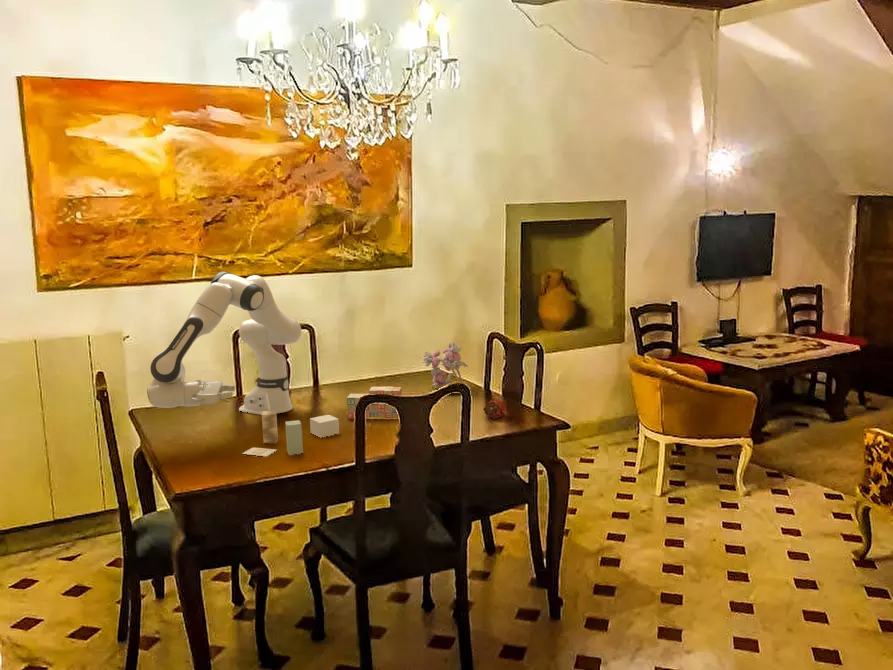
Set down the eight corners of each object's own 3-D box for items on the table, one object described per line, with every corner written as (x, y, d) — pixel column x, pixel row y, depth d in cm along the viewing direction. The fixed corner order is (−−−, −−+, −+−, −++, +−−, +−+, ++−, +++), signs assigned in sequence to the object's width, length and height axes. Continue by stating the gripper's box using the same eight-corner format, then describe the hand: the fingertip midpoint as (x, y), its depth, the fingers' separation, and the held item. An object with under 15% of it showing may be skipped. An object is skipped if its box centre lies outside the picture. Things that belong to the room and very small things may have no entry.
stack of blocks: (347, 420, 344) (346, 390, 342) (351, 415, 350) (349, 386, 348) (400, 420, 342) (399, 390, 340) (402, 415, 348) (401, 386, 346)
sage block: (287, 451, 307) (285, 421, 305) (301, 449, 309) (299, 420, 307) (288, 455, 303) (287, 425, 301) (303, 453, 304) (301, 423, 302)
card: (242, 455, 305) (242, 452, 304) (252, 448, 311) (252, 446, 311) (266, 457, 301) (266, 455, 301) (277, 451, 308) (276, 449, 308)
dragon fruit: (494, 426, 335) (492, 421, 347) (512, 412, 335) (509, 409, 347) (481, 409, 335) (479, 405, 347) (498, 395, 335) (496, 392, 347)
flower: (479, 381, 394) (454, 333, 392) (483, 388, 371) (456, 337, 369) (441, 401, 394) (415, 353, 392) (441, 410, 372) (414, 359, 370)
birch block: (263, 443, 317) (261, 415, 315) (264, 439, 321) (262, 411, 319) (277, 442, 317) (275, 414, 315) (277, 438, 322) (276, 410, 320)
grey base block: (320, 438, 322) (319, 423, 320) (310, 433, 328) (309, 418, 327) (339, 434, 326) (338, 419, 325) (329, 429, 333) (328, 414, 331)
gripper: (189, 392, 301) (230, 389, 303) (197, 378, 321) (235, 376, 323) (191, 409, 302) (231, 407, 304) (198, 395, 322) (236, 392, 324)
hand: (233, 391), depth 314 cm, fingers open, 8 cm apart
